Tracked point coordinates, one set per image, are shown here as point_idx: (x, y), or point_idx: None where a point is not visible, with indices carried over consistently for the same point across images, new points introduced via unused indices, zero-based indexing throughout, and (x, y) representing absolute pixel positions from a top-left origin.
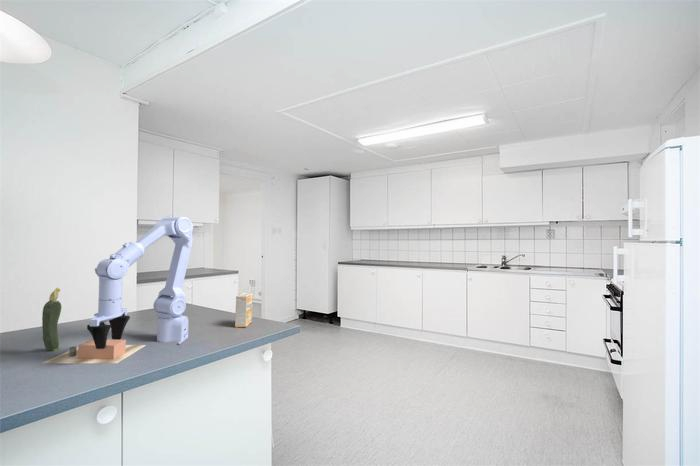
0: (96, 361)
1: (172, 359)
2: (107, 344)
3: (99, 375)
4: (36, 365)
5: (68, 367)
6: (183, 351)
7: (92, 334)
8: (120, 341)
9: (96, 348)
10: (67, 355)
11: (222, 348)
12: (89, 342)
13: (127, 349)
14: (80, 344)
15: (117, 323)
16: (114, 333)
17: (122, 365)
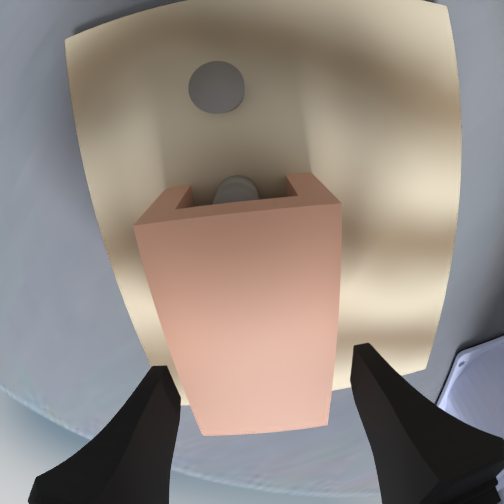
0: (158, 326)
1: (271, 473)
2: (210, 405)
3: (84, 387)
4: (83, 5)
5: (86, 211)
6: (348, 462)
7: (88, 452)
8: (287, 424)
9: (150, 370)
10: (220, 52)
11: (361, 493)
12: (229, 262)
13: (367, 342)
14: (155, 226)
15: (393, 480)
16: (369, 395)
17: (184, 406)
